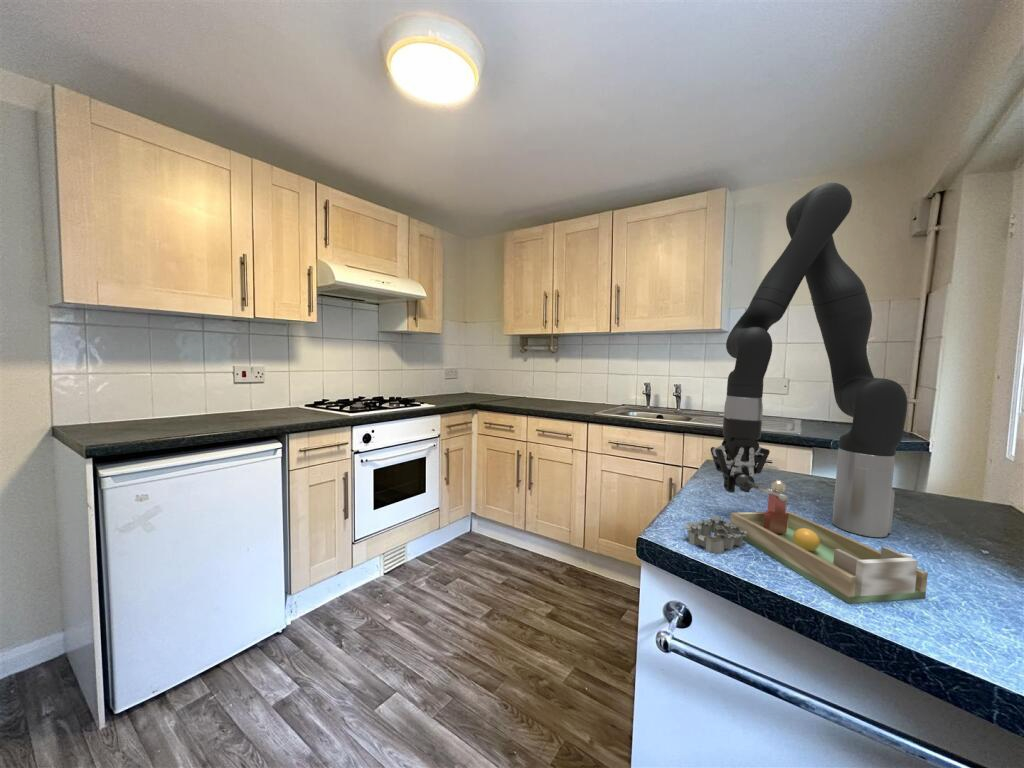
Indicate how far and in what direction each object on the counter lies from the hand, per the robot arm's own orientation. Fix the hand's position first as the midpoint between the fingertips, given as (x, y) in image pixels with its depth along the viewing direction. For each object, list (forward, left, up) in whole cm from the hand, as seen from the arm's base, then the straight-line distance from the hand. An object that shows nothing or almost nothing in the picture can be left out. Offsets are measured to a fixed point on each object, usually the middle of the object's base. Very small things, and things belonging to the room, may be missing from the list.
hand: (737, 491), depth 91 cm
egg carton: (+14, +11, -7) cm, 19 cm away
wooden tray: (0, +20, -6) cm, 20 cm away
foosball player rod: (0, +5, -5) cm, 7 cm away
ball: (0, +18, -3) cm, 18 cm away
